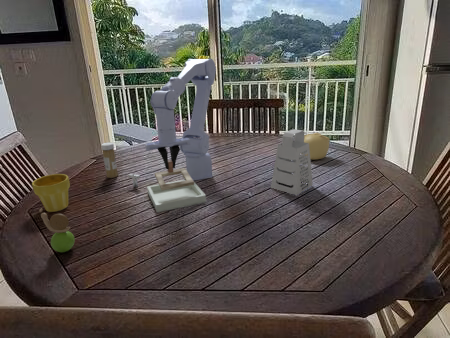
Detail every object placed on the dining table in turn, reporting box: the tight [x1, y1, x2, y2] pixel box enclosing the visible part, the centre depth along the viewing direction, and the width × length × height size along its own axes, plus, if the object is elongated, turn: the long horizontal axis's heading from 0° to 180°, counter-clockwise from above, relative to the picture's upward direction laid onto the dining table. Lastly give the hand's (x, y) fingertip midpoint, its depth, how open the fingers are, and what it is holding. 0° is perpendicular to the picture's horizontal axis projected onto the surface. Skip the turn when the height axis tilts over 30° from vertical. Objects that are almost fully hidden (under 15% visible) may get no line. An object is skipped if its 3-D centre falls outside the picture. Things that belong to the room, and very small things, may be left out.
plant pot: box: [31, 173, 71, 213], centre depth 107 cm, size 10×10×10 cm
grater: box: [270, 128, 314, 195], centre depth 114 cm, size 10×10×20 cm
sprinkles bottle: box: [100, 141, 119, 179], centre depth 131 cm, size 5×5×14 cm
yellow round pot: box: [302, 132, 330, 161], centre depth 144 cm, size 12×12×11 cm
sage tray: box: [146, 179, 207, 213], centre depth 112 cm, size 16×16×2 cm
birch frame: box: [154, 159, 195, 190], centre depth 109 cm, size 10×10×5 cm
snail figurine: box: [38, 208, 75, 253], centre depth 83 cm, size 5×6×12 cm
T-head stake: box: [127, 173, 141, 188], centre depth 122 cm, size 4×2×4 cm, turn 67°
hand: (170, 167), depth 113 cm, fingers closed on birch frame
